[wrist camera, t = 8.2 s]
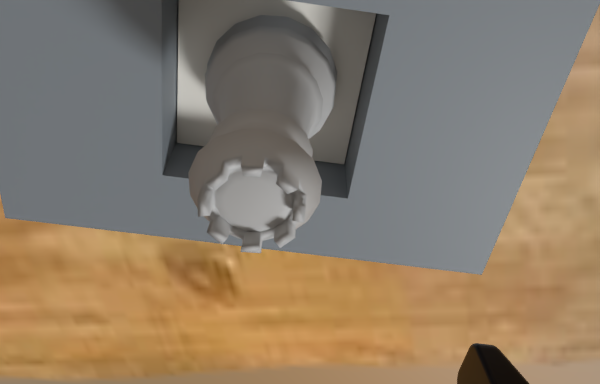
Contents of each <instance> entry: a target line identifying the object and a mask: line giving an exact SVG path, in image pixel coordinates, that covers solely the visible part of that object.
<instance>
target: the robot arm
mask: <svg viewBox="0 0 600 384" xmlns="http://www.w3.org/2000/svg"><path fill="white" fill-rule="evenodd" d="M457 384H529V383H528V382H527V381H526V380H525V378H524V377H523V376H522V375H521V374H520V373H519V372H518V370H517V369H516V368H515V367H514V366H513V365H512V364H511V362H510V361H509V360H508V359H507V358H506V357H505V356H504V354H503V353H502V352H501V351H500V350H499V349H498V348H497V347H495V346H493V345H487V344H478V343H475V344H473V345H471V346H470V348H469V350H468V352H467V354H466V356H465V359H464V361H463V363H462V365H461V367H460V369H459V372H458V378H457Z"/></svg>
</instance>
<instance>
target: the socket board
mask: <svg viewBox="0 0 600 384" xmlns="http://www.w3.org/2000/svg"><path fill="white" fill-rule="evenodd" d="M599 4H600V0H0V194H1V199H2V204H3V209H4V214H5V218H11V219H19V220H27V221H36V222H44V223H53V224H61V225H69V226H78V227H86V228H95V229H103V230H111V231H120V232H128V233H137V234H145V235H153V236H162V237H170V238H179V239H187V240H195V241H204V242H212V243H219V242H218V241H217V240H215V239H214V238H213V237H212V236H210V235H209V234H208V233H207V230H208V226H209V221H208V220H207V219H206V218H205V217H203V216H200V217H198V209H197V207H196V205H195V203H194V201H193V199H192V198H191V196H190V190H189V174H188V172H189V170H190V168H191V166H192V163H193V161H194V159H195V157H196V154H197V152H198V151H199V150H201V149H202V148H203V147H204V146H205V145H207V144H208V142H209V140H210V137H211V135H212V133H213V131H214V129H215V127H216V126H217V125H218V124H217V123H216V120H215V118H214V116H213V114H212V112H211V110H210V108H209V106H208V104H207V100H206V86H205V73H206V71H207V63H208V61H209V58H210V56H211V53H212V51H213V48H214V46H215V44H216V41H217V40H218V39H219V38H220V37H221V36H223V35H224V34H225V33H226V32H227V31H228V30H229V29H230V28H231V27H232V26H233V25H234V24H236V23H239V22H241V21H244V20H247V19H250V18H253V17H256V16H259V15H269V16H284V17H289V18H291V19H293V20H295V21H298V22H300V23H302V24H304V25H306V26H308V27H310V28H312V29H313V30H314V31H315V32H316V34H317V35H318V36H319V37H320V38H321V39H322V40H323V42H324V43H325V44H326V45H327V46H328V47H329V48H330V51H331V54H332V57H333V60H334V63H335V67H336V70H337V81H336V90H335V99H334V107H333V109H332V111H331V112H330V114H329V116H328V117H327V119H326V121H325V123H324V124H323V126H322V128H321V129H320V131H319V132H317V133H316V134H315V135H313V136H312V137H311V138H309V142H310V144H311V147H312V150H313V155H312V158H313V159H314V162H315V164H316V167H317V169H318V172H319V175H320V177H321V180H322V186H321V196H320V203H319V205H318V206H317V208H316V209H315V211H314V213H313V214H312V216H311V217H310V219H309V221H307V222H306V223H304V224H303V225H302V226H300V227H299V228H297V229H296V232H295V238H294V239H293V240H291V241H290V242H288V243H287V244H286V245H284V246H283V247H281V248H279V246H278V245H277V244H276V242H275V241H274V238H272V239H268V240H264V241H262V248H263V249H271V250H279V251H288V252H296V253H304V254H313V255H321V256H330V257H338V258H346V259H355V260H363V261H372V262H380V263H388V264H397V265H405V266H414V267H422V268H430V269H439V270H447V271H456V272H464V273H472V274H481V275H482V273H483V271H484V268H485V266H486V264H487V261H488V259H489V257H490V254H491V252H492V250H493V248H494V245H495V243H496V241H497V238H498V236H499V234H500V232H501V229H502V227H503V225H504V222H505V220H506V218H507V215H508V213H509V211H510V209H511V206H512V204H513V202H514V199H515V197H516V195H517V192H518V190H519V188H520V186H521V183H522V181H523V179H524V176H525V174H526V172H527V169H528V167H529V165H530V163H531V160H532V158H533V156H534V153H535V151H536V149H537V147H538V144H539V142H540V140H541V137H542V135H543V133H544V130H545V128H546V126H547V124H548V121H549V119H550V117H551V114H552V112H553V110H554V107H555V105H556V103H557V101H558V98H559V96H560V94H561V91H562V89H563V87H564V85H565V82H566V80H567V78H568V75H569V73H570V71H571V68H572V66H573V64H574V62H575V59H576V57H577V55H578V52H579V50H580V48H581V45H582V43H583V41H584V39H585V36H586V34H587V32H588V29H589V27H590V25H591V23H592V20H593V18H594V16H595V13H596V11H597V9H598V6H599ZM375 17H376V18H375ZM373 26H374V27H373ZM372 31H373V32H372ZM370 40H371V41H370ZM369 45H370V46H369ZM368 50H369V51H368ZM366 59H367V60H366ZM365 64H366V65H365ZM363 73H364V74H363ZM362 78H363V79H362ZM360 87H361V88H360ZM359 92H360V93H359ZM356 106H357V107H356ZM355 111H356V112H355ZM353 120H354V121H353ZM352 125H353V126H352ZM350 134H351V135H350ZM349 139H350V140H349ZM347 148H348V149H347ZM346 153H347V154H346ZM242 241H243V240H242V239H239V238H237V237H234V236H232V235H229V236H228V238H227V239H226V240H225V242H224V243H223V244H229V245H237V246H242Z"/></svg>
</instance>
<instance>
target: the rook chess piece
mask: <svg viewBox="0 0 600 384" xmlns="http://www.w3.org/2000/svg"><path fill="white" fill-rule="evenodd" d="M336 81H337V70H336V67H335V63H334V60H333V57H332V54H331V51H330V48H329V47H328V46H327V45H326V44H325V43H324V42H323V40H322V39H321V38H320V37H319V36H318V35H317V34H316V32H315V31H314V30H313V29H312V28H310V27H308V26H306V25H304V24H302V23H300V22H298V21H295V20H293V19H291V18H289V17H284V16H269V15H259V16H256V17H253V18H250V19H247V20H244V21H241V22H239V23H236V24H234V25H233V26H232V27H231V28H230V29H229V30H228V31H227V32H226V33H225V34H224V35H223V36H221V37H220V38H219V39H218V40H217V41H216V44H215V46H214V48H213V51H212V53H211V56H210V58H209V61H208V63H207V71H206V73H205V86H206V100H207V104H208V106H209V108H210V110H211V112H212V114H213V116H214V118H215V120H216V123H217V124H218V125H217V126H216V127H215V129H214V131H213V133H212V135H211V137H210V140H209V142H208V144H207V145H205V146H204V147H203V148H202V149H201V150H199V151H198V152H197V154H196V157H195V159H194V161H193V163H192V166H191V168H190V170H189V172H188V174H189V190H190V196H191V198H192V199H193V201H194V203H195V205H196V207H197V209H198V217H200V216H203V217H205V218H206V219H207V220H208V221H209V226H208V230H207V233H208V234H209V235H210V236H212V237H213V238H214V239H215V240H217V241H218V242H219V243H220V244H223V243H224V242H225V240H226V239H227V238H228V236H229V235H232V236H234V237H237V238H239V239H242V240H243V241H242V247H241V252H252V253H261V248H262V241H264V240H268V239H272V238H274V241H275V242H276V244H277V245H278V246H279V248H281V247H283V246H284V245H286V244H287V243H288V242H290V241H291V240H293V239H294V238H295V232H296V229H297V228H299V227H300V226H302V225H303V224H304V223H306V222H307V221H309V219H310V217H311V216H312V214H313V213H314V211H315V209H316V208H317V206H318V205H319V203H320V196H321V186H322V180H321V177H320V175H319V172H318V169H317V167H316V164H315V162H314V159H313V158H312V155H313V150H312V147H311V144H310V142H309V138H311V137H312V136H313V135H315V134H316V133H317V132H319V131H320V129H321V128H322V126H323V124H324V123H325V121H326V119H327V117H328V116H329V114H330V112H331V111H332V109H333V107H334V99H335V90H336Z"/></svg>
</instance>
